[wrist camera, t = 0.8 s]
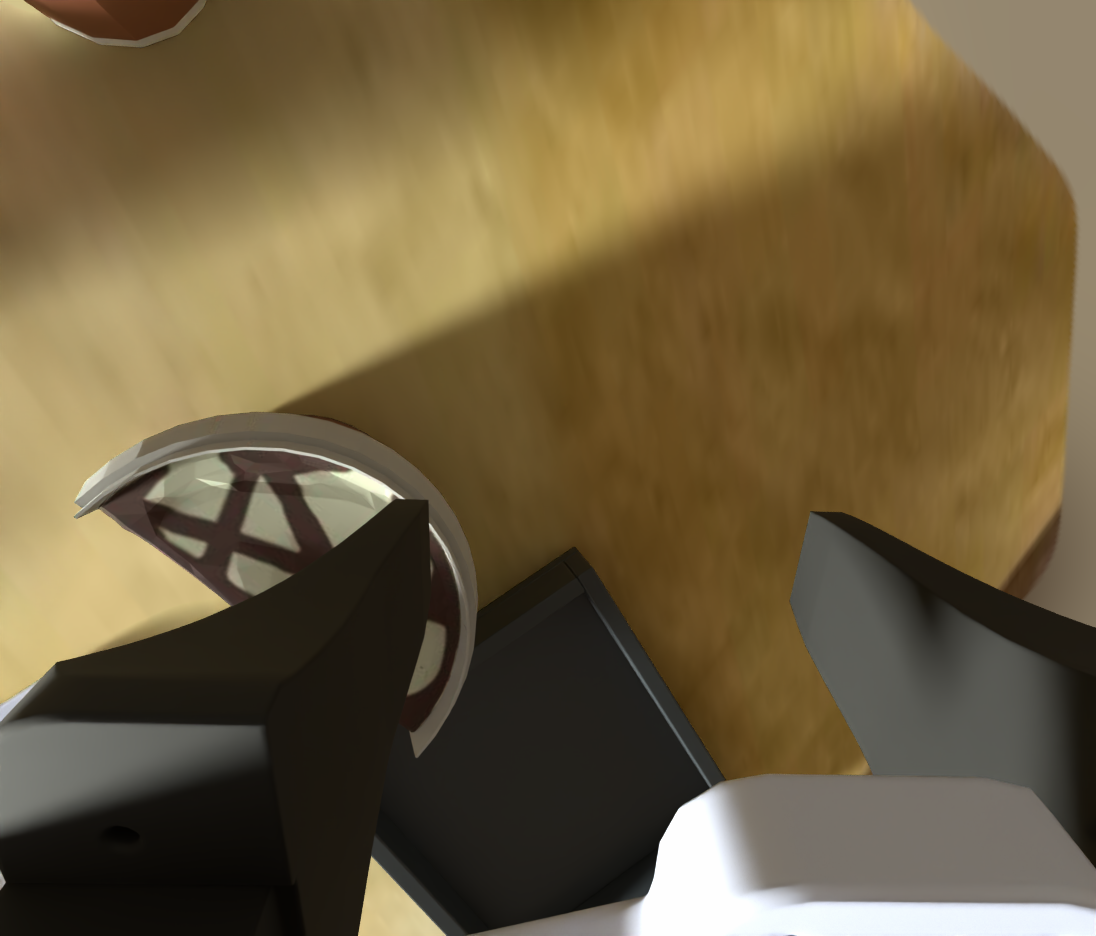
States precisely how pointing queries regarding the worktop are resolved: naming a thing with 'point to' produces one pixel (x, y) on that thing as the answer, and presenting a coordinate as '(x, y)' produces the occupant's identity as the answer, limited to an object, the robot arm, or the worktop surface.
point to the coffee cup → (121, 19)
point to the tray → (541, 766)
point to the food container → (291, 522)
